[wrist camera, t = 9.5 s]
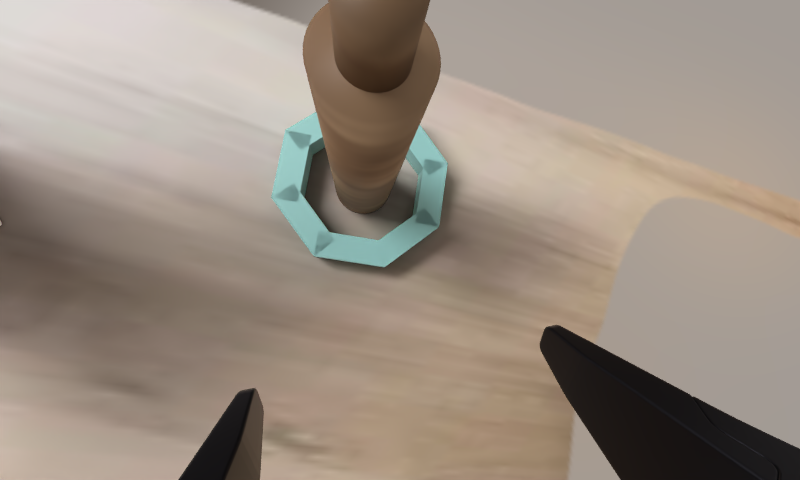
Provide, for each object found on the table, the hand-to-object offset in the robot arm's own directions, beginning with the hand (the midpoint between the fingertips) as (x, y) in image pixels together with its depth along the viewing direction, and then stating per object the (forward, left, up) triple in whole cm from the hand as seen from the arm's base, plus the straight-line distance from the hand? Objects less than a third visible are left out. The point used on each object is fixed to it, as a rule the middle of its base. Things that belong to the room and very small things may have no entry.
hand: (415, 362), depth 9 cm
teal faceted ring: (+3, -8, -10) cm, 13 cm away
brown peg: (+3, -8, -10) cm, 13 cm away
